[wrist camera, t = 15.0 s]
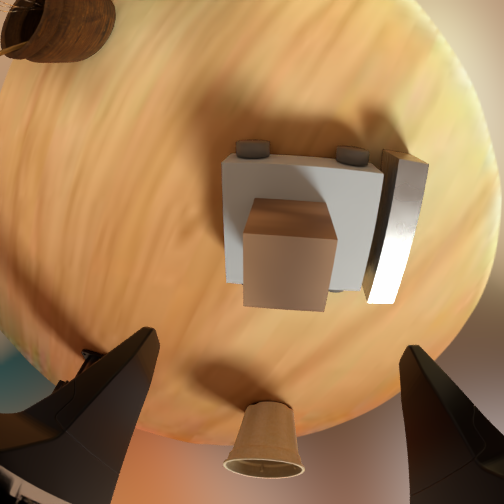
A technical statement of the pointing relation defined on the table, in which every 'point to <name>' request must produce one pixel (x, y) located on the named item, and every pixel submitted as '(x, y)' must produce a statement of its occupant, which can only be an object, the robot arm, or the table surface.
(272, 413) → the flower pot
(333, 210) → the cart
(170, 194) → the table surface
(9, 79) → the table surface
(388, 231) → the buffer
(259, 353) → the table surface
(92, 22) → the utensil holder
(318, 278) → the block
